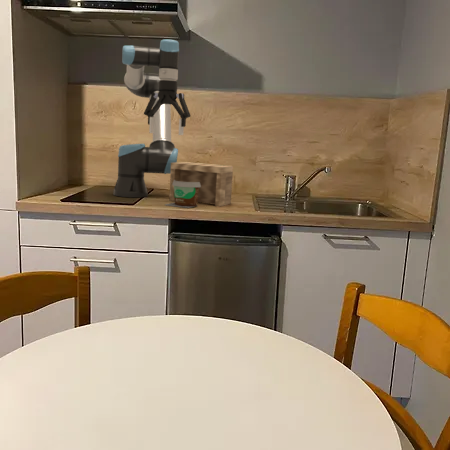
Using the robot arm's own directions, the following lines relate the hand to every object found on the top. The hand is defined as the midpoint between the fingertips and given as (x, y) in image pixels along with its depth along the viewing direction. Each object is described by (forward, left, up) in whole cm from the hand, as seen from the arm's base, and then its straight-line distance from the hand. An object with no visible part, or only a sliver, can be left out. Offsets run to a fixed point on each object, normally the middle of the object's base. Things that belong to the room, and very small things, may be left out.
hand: (166, 134), depth 216 cm
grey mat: (+8, 0, -29) cm, 30 cm away
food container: (+9, 0, -29) cm, 30 cm away
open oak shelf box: (+9, +17, -29) cm, 34 cm away
